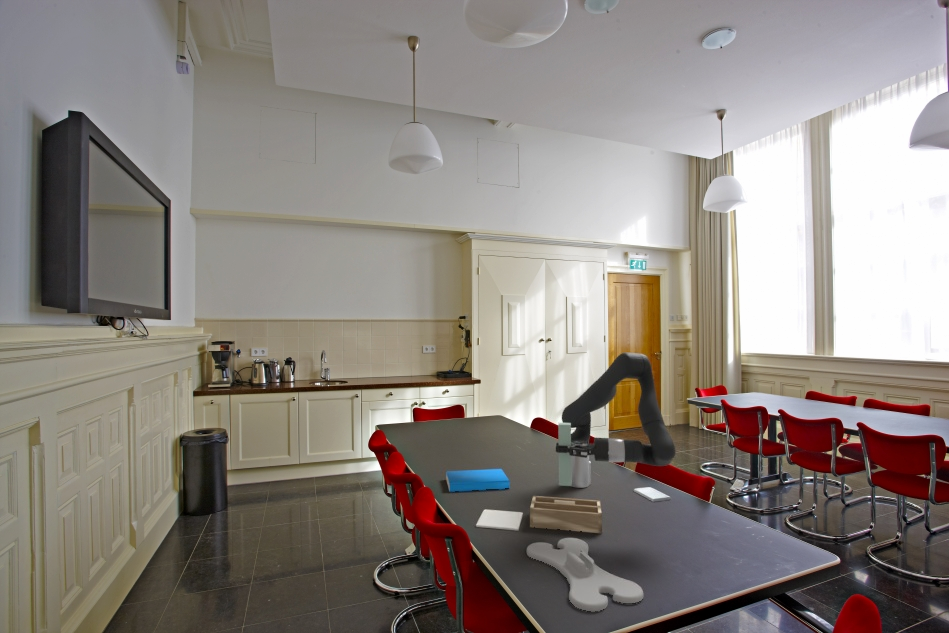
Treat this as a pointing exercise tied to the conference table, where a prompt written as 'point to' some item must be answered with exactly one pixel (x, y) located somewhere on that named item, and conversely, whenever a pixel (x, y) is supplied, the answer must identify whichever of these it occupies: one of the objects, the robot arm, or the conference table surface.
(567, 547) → the holder
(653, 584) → the conference table surface
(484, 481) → the book
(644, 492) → the hard drive
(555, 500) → the upper offcut
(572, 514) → the box
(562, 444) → the pale green bar
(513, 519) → the mat
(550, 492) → the conference table surface
